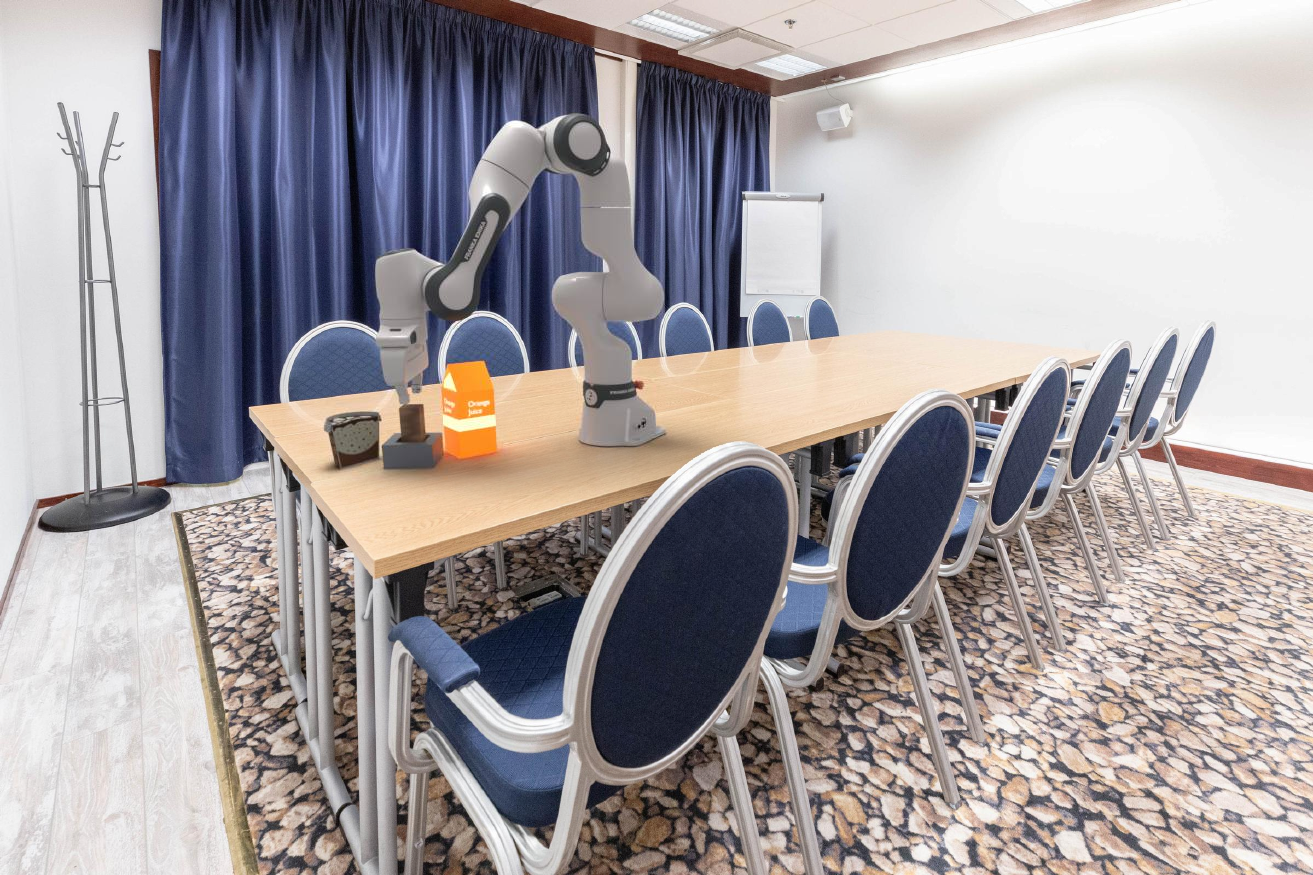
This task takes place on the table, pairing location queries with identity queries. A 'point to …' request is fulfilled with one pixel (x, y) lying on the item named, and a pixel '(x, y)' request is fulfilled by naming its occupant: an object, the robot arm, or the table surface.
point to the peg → (412, 423)
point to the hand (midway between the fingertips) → (411, 398)
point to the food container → (353, 437)
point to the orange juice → (468, 410)
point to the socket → (412, 452)
